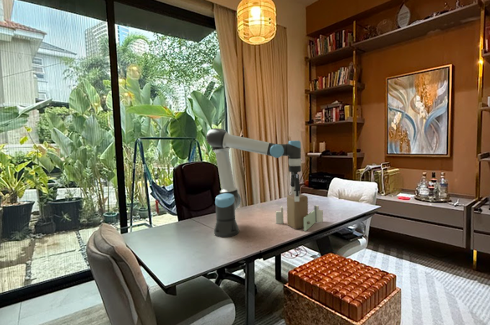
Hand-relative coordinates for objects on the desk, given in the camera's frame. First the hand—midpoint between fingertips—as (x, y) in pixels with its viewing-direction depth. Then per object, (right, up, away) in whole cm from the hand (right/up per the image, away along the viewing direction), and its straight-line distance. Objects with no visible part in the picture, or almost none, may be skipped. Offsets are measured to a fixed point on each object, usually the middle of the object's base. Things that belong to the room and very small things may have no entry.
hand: (295, 199), depth 166 cm
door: (+10, -17, 0) cm, 20 cm away
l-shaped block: (+5, -17, +10) cm, 20 cm away
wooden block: (+2, -18, +3) cm, 18 cm away
